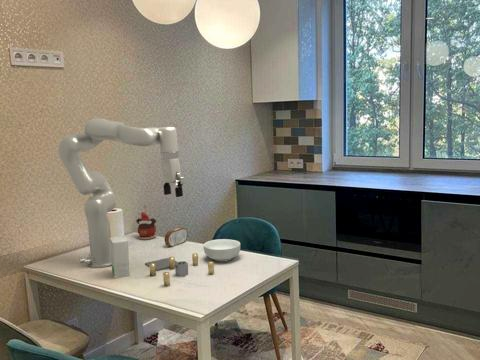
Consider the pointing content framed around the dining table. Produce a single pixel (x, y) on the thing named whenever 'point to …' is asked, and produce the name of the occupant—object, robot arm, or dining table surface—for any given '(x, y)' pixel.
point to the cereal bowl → (222, 249)
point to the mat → (160, 264)
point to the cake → (146, 226)
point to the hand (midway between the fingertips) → (173, 195)
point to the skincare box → (120, 256)
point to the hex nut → (181, 268)
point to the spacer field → (172, 266)
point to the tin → (176, 236)
